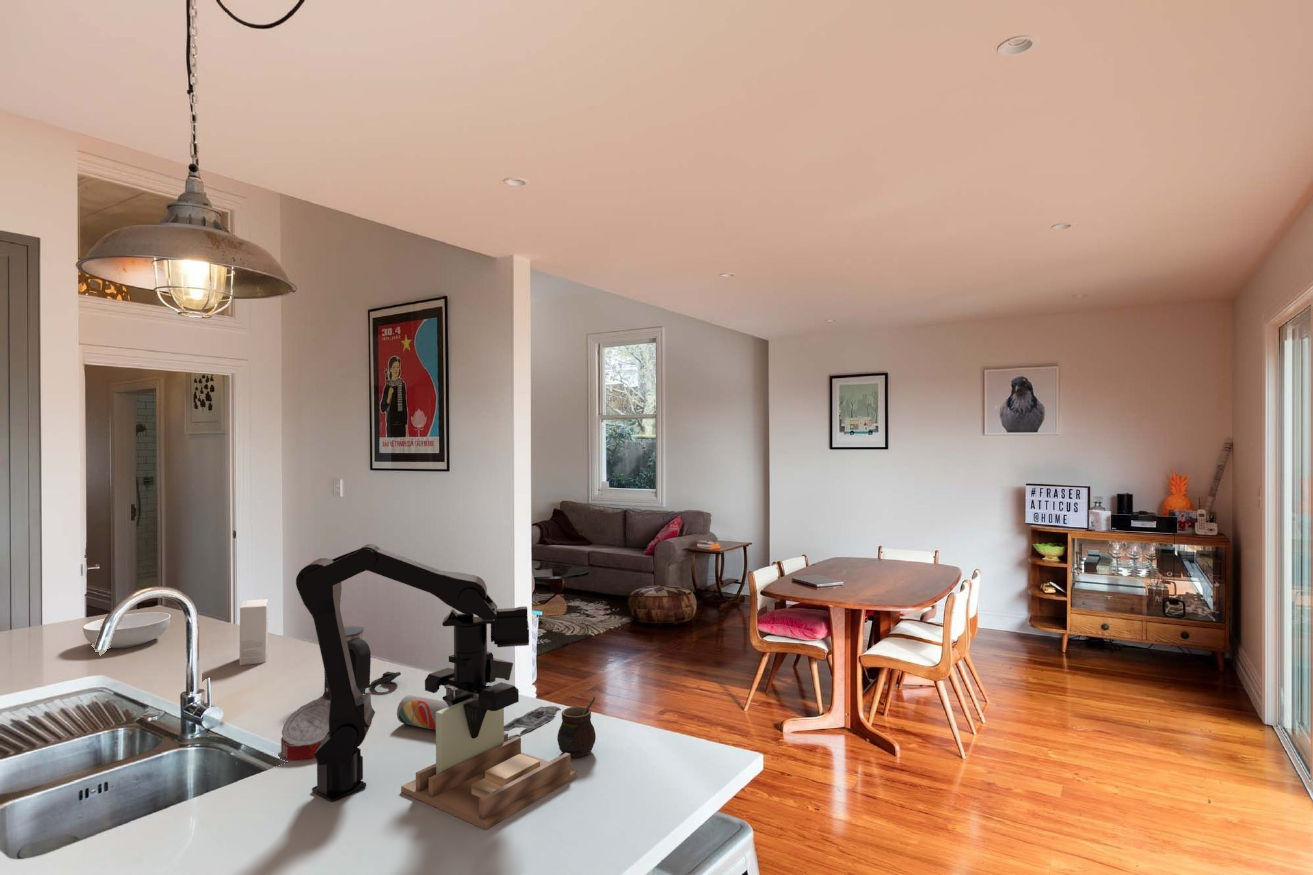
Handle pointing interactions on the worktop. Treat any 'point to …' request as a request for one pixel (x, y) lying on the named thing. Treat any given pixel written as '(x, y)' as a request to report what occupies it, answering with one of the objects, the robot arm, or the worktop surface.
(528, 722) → the driftwood
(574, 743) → the mate gourd
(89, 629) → the serving bowl
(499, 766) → the oak offcut
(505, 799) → the walnut rack
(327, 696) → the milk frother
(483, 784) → the pine offcut
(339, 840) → the worktop surface
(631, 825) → the worktop surface
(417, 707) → the lotion bottle
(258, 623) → the skincare box
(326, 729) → the canned food
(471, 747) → the green sheet
